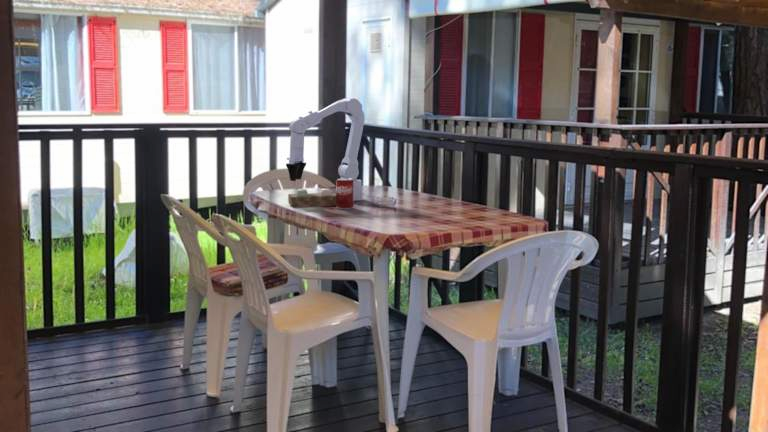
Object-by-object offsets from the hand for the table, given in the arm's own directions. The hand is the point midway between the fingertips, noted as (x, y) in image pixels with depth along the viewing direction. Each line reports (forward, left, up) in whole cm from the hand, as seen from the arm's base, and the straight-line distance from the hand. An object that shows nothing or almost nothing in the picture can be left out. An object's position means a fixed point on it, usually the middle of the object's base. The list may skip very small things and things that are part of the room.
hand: (295, 180), depth 351 cm
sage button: (-2, +6, -7) cm, 9 cm away
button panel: (-7, +6, -10) cm, 13 cm away
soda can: (-18, +19, -10) cm, 28 cm away
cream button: (-12, +5, -7) cm, 15 cm away
